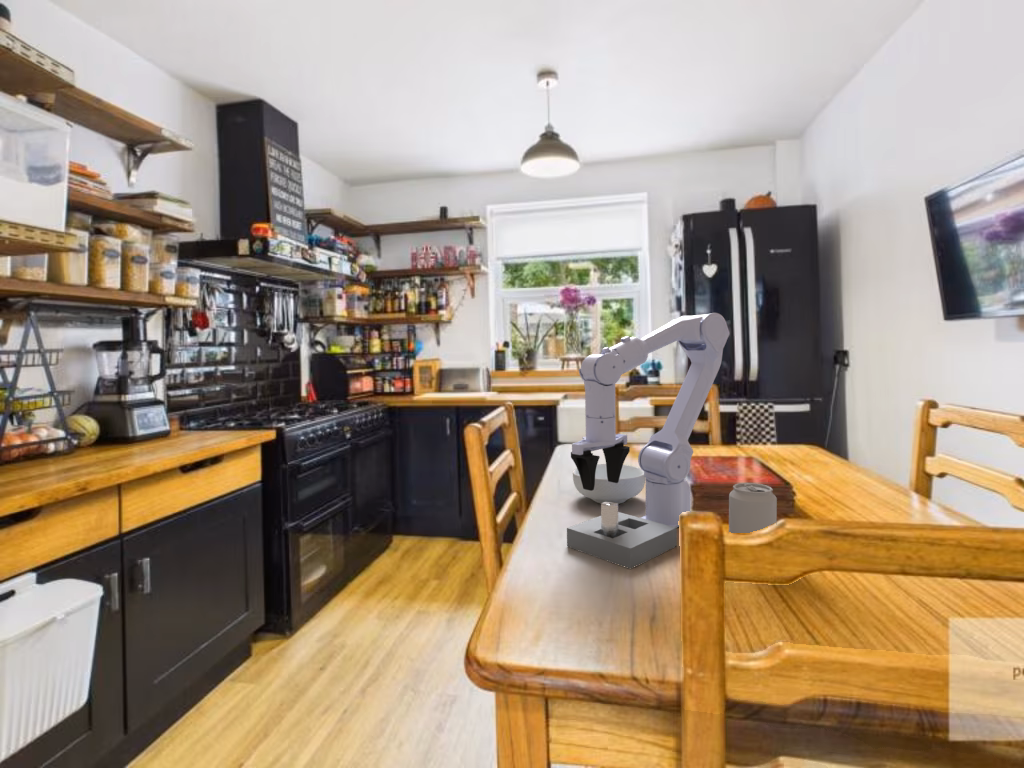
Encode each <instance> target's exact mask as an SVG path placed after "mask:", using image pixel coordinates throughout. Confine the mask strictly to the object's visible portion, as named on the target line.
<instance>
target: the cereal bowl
mask: <svg viewBox="0 0 1024 768" xmlns="http://www.w3.org/2000/svg"><path fill="white" fill-rule="evenodd" d="M572 479H573V481H572V482H573V484H574V487H575V489H576V491H578V493H579V494H581V495H582V496H584V497H586V498H588V499H591V500H592V501H593V502H595V503H596V504H597V503H598V504H601V503H603V502H615V503H617V504H618V505H619V504H623V503H625V502H626V501H627V500H630V499H632V498H634V497H637V496H638V495H640V493H641V492H642V491H643V489H644V487H645V485H646V477H645V476H644V471H643V470H642V469H641V468H640V467H638V466H634V465H629V464H623V466H622V470H621V474H620V478H619V482H618V483H613V482H609V481H608V478H607V468H606V463H597V467H596V472H595V486H594V490H592V491H590V490H585V489H583V485H582V482H581V478H580V475H579V472H578V469H577V467H576V468H575V469H574V470H572Z"/></svg>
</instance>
